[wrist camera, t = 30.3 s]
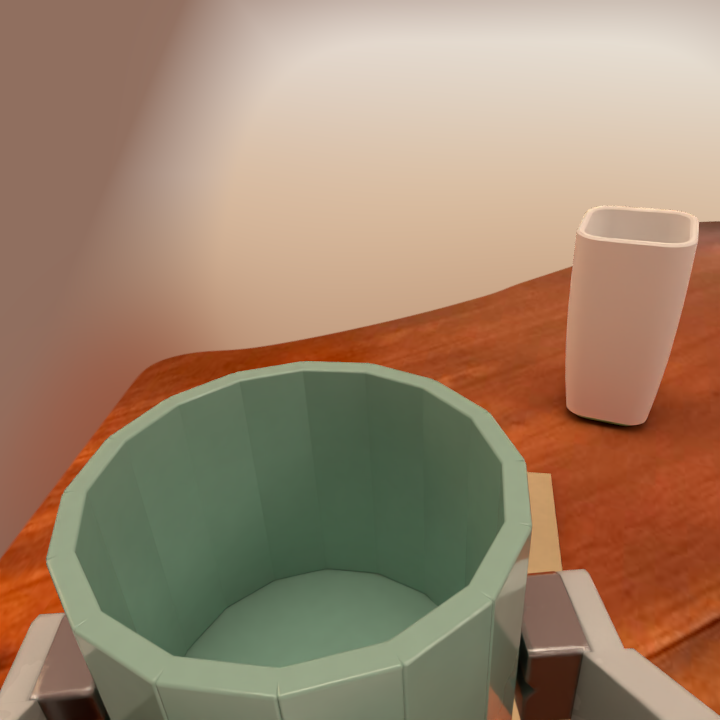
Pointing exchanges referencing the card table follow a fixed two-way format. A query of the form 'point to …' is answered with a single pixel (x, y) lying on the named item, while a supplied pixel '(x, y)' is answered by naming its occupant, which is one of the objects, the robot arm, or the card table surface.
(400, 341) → the card table surface
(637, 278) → the cup
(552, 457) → the card table surface
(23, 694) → the robot arm
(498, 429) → the tumbler
